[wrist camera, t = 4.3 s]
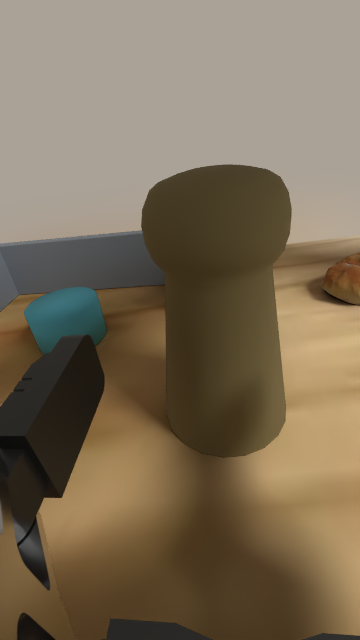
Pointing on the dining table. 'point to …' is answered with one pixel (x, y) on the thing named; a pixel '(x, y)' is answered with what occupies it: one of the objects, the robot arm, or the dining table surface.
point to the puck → (65, 316)
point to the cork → (221, 303)
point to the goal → (76, 264)
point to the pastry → (345, 279)
